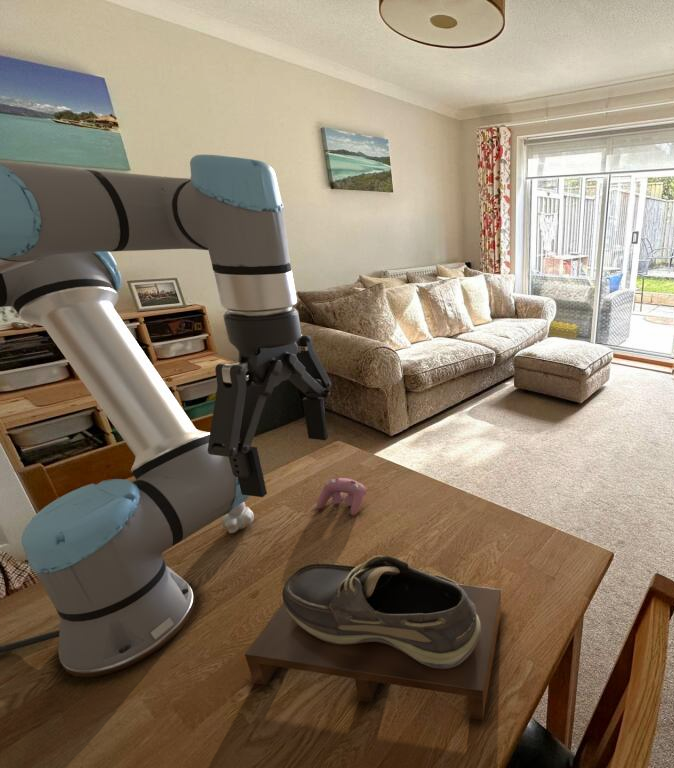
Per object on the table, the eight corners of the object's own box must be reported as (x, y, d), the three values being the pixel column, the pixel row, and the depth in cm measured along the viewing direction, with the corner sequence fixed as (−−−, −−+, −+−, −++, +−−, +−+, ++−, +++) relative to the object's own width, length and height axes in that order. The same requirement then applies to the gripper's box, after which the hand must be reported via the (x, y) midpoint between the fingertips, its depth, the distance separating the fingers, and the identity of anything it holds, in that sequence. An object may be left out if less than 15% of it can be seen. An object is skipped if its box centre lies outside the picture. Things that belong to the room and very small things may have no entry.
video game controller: (365, 512, 90) (370, 481, 91) (353, 516, 86) (359, 483, 86) (327, 504, 92) (331, 474, 93) (313, 509, 88) (318, 476, 88)
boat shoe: (318, 571, 66) (307, 518, 62) (491, 605, 61) (492, 550, 57) (268, 632, 56) (251, 574, 52) (470, 680, 51) (469, 619, 47)
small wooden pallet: (254, 683, 55) (244, 654, 53) (316, 591, 69) (310, 565, 67) (482, 720, 52) (482, 690, 50) (500, 616, 66) (501, 589, 64)
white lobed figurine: (261, 516, 86) (253, 485, 83) (247, 538, 80) (238, 505, 77) (233, 518, 85) (224, 487, 82) (217, 541, 79) (207, 508, 76)
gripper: (296, 289, 59) (316, 418, 67) (123, 333, 36) (185, 522, 44) (345, 293, 58) (359, 423, 66) (201, 340, 35) (249, 531, 43)
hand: (290, 463), depth 55 cm, fingers open, 13 cm apart
